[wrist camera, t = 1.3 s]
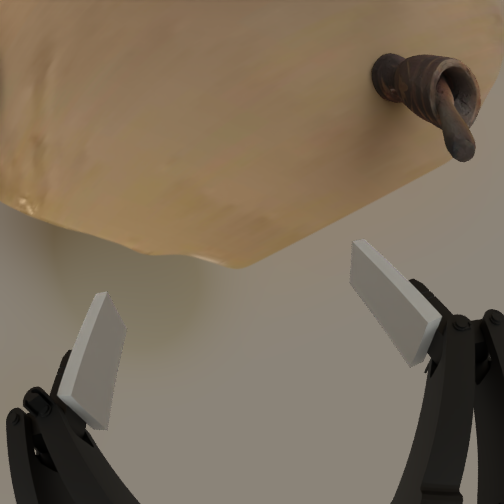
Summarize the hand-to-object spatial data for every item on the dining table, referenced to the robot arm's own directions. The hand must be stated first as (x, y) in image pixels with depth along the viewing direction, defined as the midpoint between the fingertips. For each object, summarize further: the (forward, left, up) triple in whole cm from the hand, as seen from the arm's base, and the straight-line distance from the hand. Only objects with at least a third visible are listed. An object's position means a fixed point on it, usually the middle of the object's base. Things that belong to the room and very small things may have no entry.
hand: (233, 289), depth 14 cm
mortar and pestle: (-17, +18, -25) cm, 35 cm away
